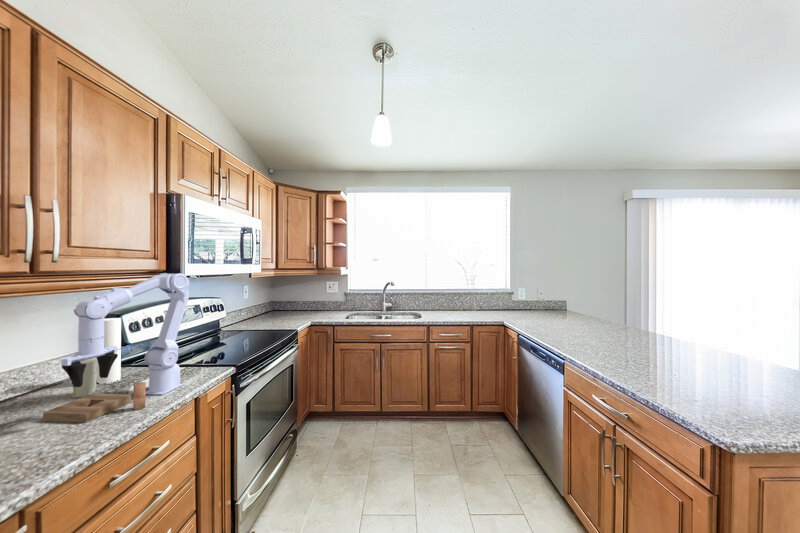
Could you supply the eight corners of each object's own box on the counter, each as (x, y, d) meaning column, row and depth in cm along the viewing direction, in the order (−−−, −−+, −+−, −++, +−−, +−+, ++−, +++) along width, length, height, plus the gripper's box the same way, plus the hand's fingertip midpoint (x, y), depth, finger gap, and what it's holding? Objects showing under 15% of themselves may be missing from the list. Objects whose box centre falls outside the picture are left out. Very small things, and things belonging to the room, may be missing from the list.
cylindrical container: (118, 381, 124) (119, 319, 124) (94, 385, 120) (95, 321, 120) (122, 376, 130) (122, 317, 130) (98, 379, 126) (99, 318, 126)
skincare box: (80, 392, 113) (81, 359, 113) (96, 390, 115) (97, 357, 115) (72, 398, 108) (72, 363, 108) (89, 396, 110) (89, 362, 110)
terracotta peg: (139, 405, 102) (139, 381, 102) (147, 406, 102) (148, 382, 102) (130, 410, 99) (131, 385, 99) (139, 410, 99) (139, 385, 99)
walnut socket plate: (93, 400, 106) (93, 393, 106) (131, 402, 105) (131, 394, 105) (43, 420, 92) (43, 412, 92) (86, 422, 91) (86, 414, 91)
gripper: (103, 333, 103) (103, 373, 103) (51, 343, 89) (51, 390, 88) (123, 333, 102) (123, 374, 102) (74, 344, 88) (73, 391, 88)
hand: (91, 381), depth 95 cm, fingers open, 7 cm apart
